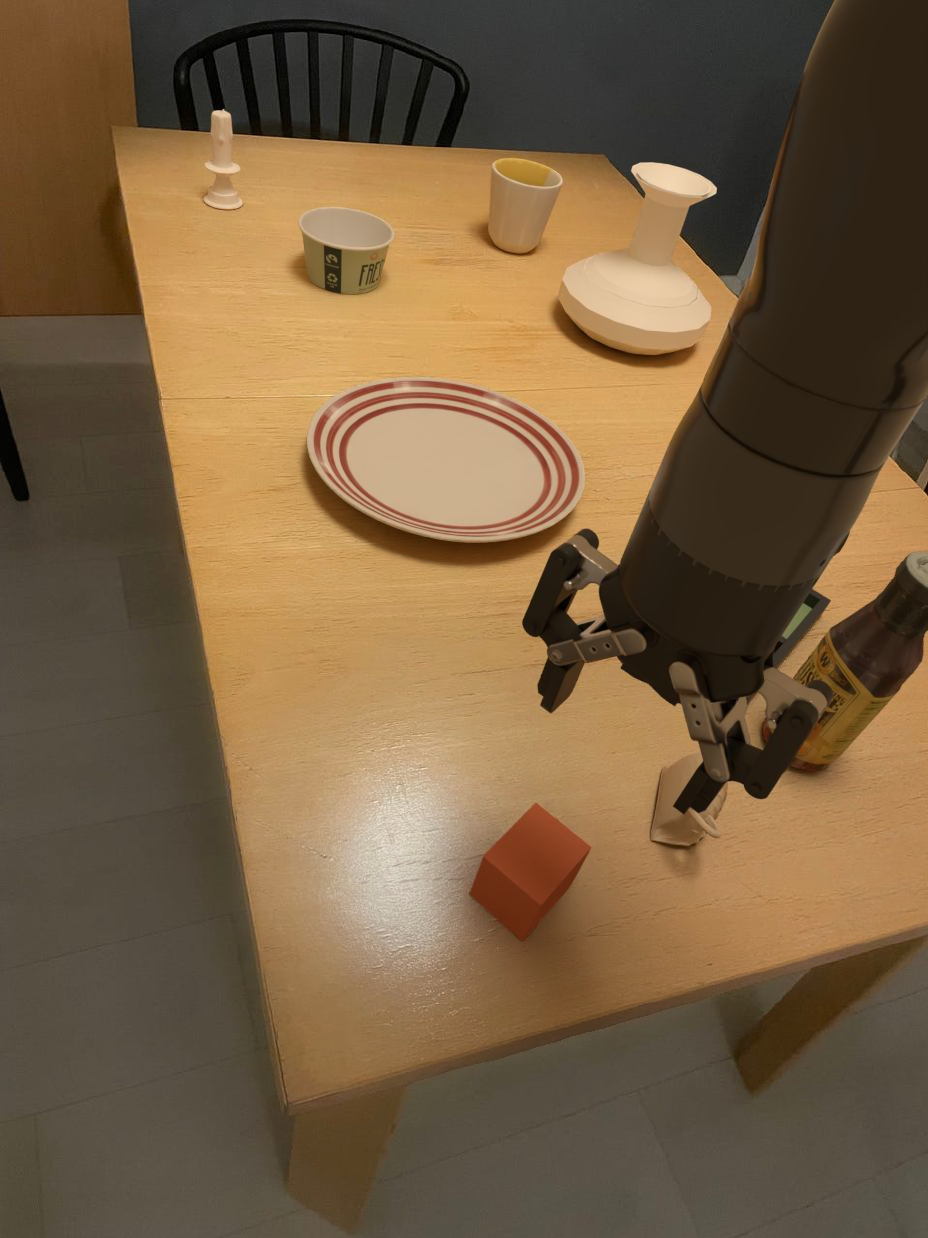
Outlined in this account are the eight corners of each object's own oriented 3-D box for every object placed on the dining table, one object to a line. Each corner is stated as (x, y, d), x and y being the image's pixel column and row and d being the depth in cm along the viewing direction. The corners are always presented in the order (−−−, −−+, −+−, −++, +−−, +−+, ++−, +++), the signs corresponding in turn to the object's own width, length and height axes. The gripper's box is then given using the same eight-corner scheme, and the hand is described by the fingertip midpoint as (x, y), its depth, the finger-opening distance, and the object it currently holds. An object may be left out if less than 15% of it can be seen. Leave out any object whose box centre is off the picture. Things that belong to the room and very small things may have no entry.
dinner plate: (310, 385, 95) (311, 357, 92) (554, 410, 100) (561, 384, 97) (299, 557, 76) (301, 527, 73) (601, 576, 81) (611, 550, 78)
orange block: (571, 884, 58) (592, 847, 55) (522, 942, 55) (541, 905, 51) (519, 841, 60) (535, 801, 56) (468, 894, 57) (482, 856, 53)
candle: (249, 200, 125) (248, 108, 116) (233, 213, 121) (232, 118, 113) (213, 190, 125) (210, 97, 117) (196, 203, 121) (192, 107, 113)
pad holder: (821, 615, 82) (831, 600, 81) (738, 715, 72) (749, 699, 70) (737, 564, 86) (746, 548, 84) (647, 652, 75) (654, 635, 73)
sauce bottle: (747, 712, 72) (867, 528, 58) (816, 713, 73) (949, 534, 59) (775, 780, 68) (912, 598, 54) (848, 780, 69) (1000, 603, 55)
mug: (550, 265, 127) (568, 190, 120) (481, 255, 125) (495, 179, 118) (539, 226, 137) (555, 155, 129) (474, 216, 135) (487, 144, 128)
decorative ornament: (714, 785, 66) (742, 743, 62) (700, 878, 60) (730, 839, 57) (663, 765, 67) (688, 723, 63) (644, 856, 61) (669, 815, 57)
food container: (317, 247, 118) (320, 197, 113) (401, 272, 117) (407, 223, 113) (280, 281, 110) (282, 229, 105) (370, 308, 109) (376, 257, 104)
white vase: (709, 381, 111) (773, 228, 97) (555, 354, 109) (598, 194, 95) (686, 308, 125) (739, 166, 111) (549, 283, 123) (586, 135, 109)
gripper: (547, 459, 35) (472, 708, 46) (874, 664, 30) (699, 886, 41) (642, 400, 40) (552, 639, 51) (939, 569, 35) (766, 792, 46)
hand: (618, 750), depth 46 cm, fingers open, 8 cm apart
